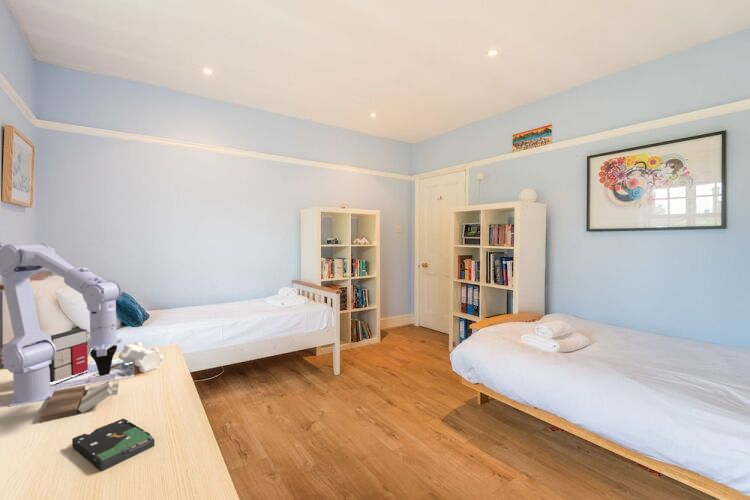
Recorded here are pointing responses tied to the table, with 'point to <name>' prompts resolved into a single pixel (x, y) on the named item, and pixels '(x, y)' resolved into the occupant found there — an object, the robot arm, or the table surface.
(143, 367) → the bone shaped toy
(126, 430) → the disk drive
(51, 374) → the calculator
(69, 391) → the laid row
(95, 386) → the plank
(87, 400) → the plank
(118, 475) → the table surface
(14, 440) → the table surface
